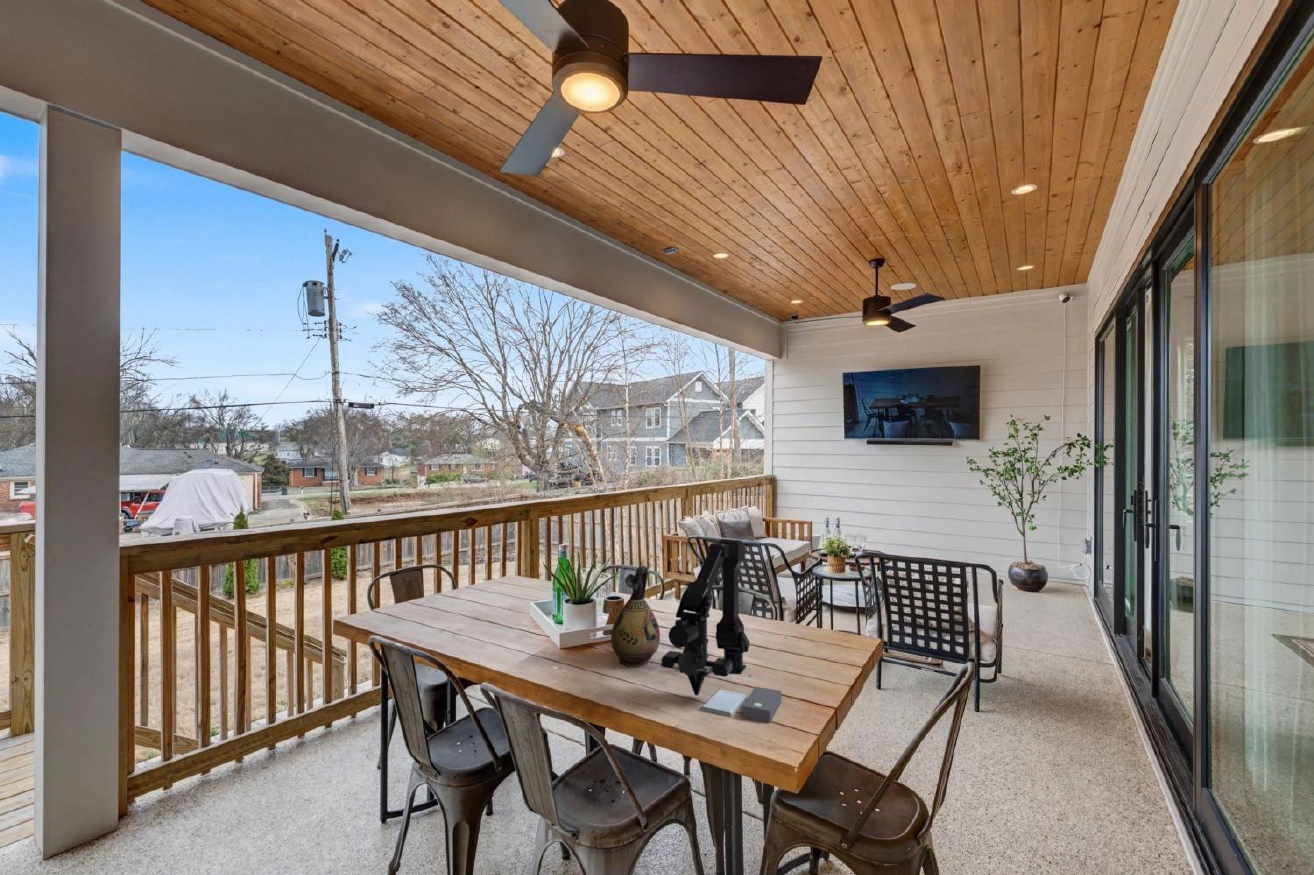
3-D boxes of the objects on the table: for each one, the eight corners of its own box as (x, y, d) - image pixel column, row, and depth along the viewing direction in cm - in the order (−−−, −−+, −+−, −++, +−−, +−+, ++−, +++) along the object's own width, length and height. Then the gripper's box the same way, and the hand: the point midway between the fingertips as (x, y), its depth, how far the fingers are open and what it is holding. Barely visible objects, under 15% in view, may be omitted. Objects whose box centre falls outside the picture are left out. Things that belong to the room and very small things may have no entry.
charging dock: (750, 696, 161) (750, 685, 161) (781, 702, 157) (781, 690, 157) (736, 716, 149) (736, 704, 149) (770, 723, 145) (769, 710, 145)
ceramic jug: (649, 674, 177) (649, 574, 177) (603, 668, 182) (602, 570, 183) (668, 655, 193) (668, 563, 193) (625, 650, 198) (624, 560, 199)
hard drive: (731, 712, 149) (747, 694, 160) (701, 706, 153) (718, 688, 164) (731, 719, 149) (747, 700, 160) (701, 712, 153) (718, 694, 164)
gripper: (653, 641, 157) (653, 700, 156) (720, 651, 149) (720, 713, 149) (669, 629, 167) (669, 685, 167) (732, 638, 159) (733, 696, 159)
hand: (696, 694), depth 160 cm, fingers closed
